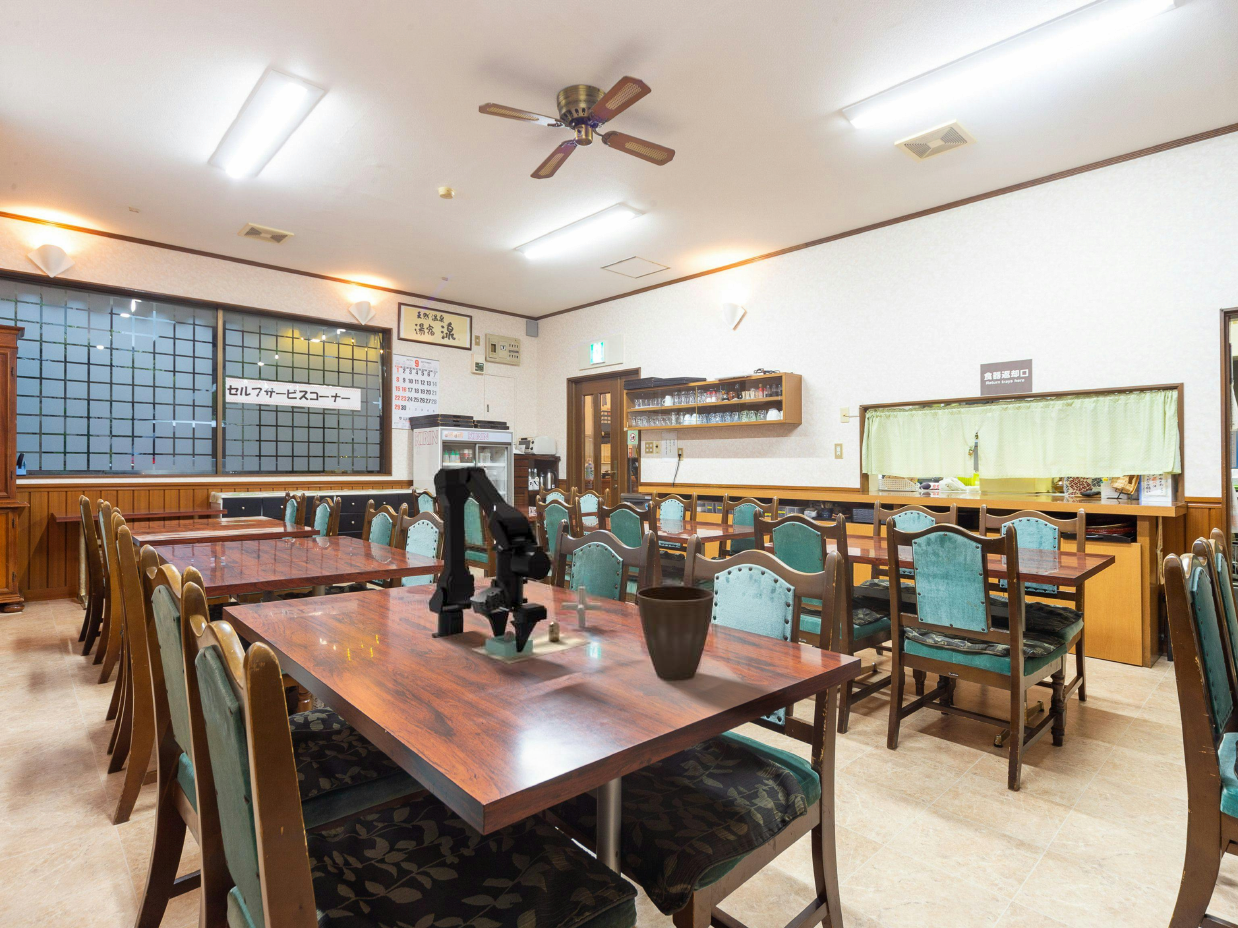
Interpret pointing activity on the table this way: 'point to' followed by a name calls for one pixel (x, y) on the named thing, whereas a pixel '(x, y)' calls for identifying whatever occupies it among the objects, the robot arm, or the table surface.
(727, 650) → the table surface
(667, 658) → the plant pot
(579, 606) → the pipe connector
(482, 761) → the table surface
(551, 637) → the bronze post
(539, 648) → the birch stand board
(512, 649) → the teal collar
